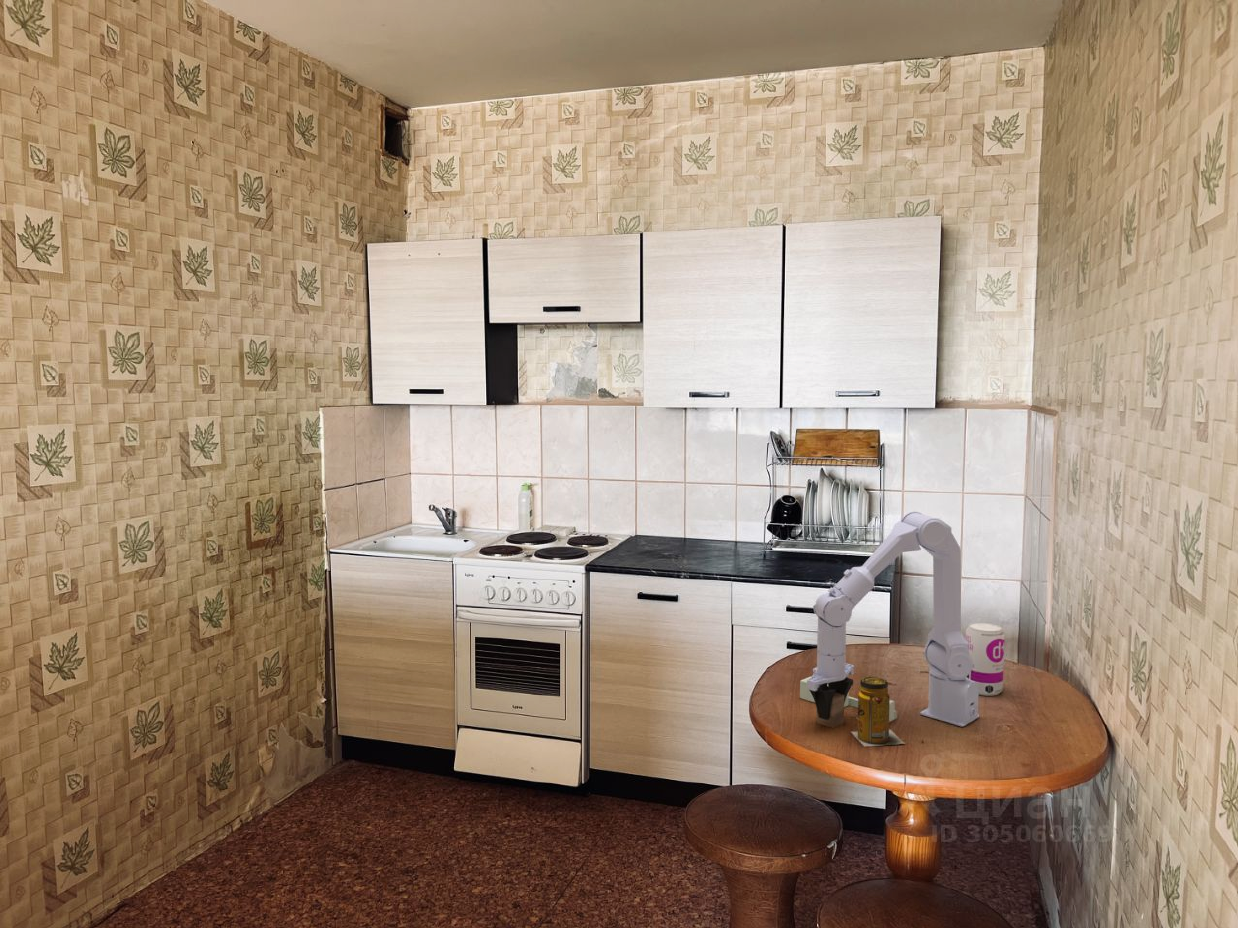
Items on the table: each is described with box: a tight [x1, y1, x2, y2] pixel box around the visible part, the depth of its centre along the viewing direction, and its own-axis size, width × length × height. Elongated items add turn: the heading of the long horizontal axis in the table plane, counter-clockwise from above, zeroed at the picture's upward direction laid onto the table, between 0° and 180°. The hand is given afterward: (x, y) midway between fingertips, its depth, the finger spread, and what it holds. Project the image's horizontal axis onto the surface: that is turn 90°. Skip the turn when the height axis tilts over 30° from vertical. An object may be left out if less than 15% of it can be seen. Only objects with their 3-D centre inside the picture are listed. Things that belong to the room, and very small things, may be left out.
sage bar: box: [799, 675, 898, 723], centre depth 188 cm, size 21×5×4 cm, turn 43°
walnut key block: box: [816, 692, 845, 729], centre depth 180 cm, size 4×4×6 cm
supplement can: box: [965, 621, 1006, 697], centre depth 197 cm, size 8×8×15 cm
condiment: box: [850, 676, 906, 747], centre depth 171 cm, size 7×8×12 cm
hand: (830, 714), depth 180 cm, fingers open, 4 cm apart
